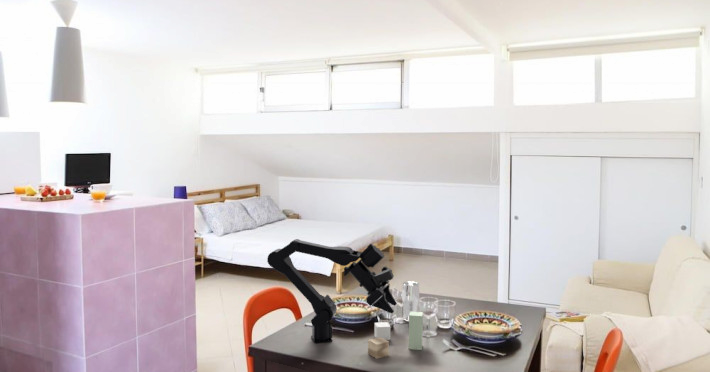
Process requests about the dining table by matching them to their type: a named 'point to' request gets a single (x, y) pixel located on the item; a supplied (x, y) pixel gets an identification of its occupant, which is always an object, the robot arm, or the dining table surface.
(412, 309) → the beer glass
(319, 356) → the dining table surface
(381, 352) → the oak cube
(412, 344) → the sage block
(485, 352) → the dining table surface
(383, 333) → the white cube
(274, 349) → the dining table surface
